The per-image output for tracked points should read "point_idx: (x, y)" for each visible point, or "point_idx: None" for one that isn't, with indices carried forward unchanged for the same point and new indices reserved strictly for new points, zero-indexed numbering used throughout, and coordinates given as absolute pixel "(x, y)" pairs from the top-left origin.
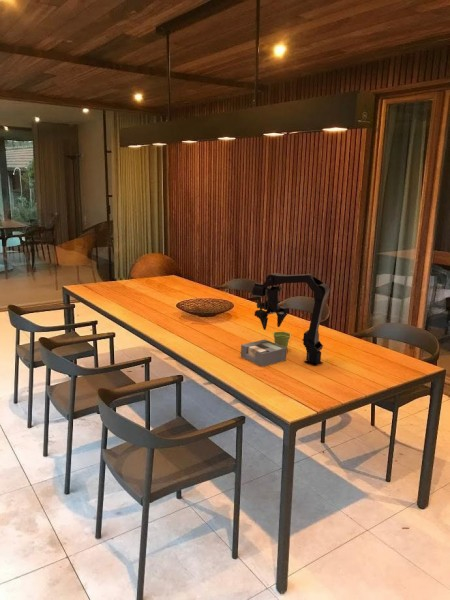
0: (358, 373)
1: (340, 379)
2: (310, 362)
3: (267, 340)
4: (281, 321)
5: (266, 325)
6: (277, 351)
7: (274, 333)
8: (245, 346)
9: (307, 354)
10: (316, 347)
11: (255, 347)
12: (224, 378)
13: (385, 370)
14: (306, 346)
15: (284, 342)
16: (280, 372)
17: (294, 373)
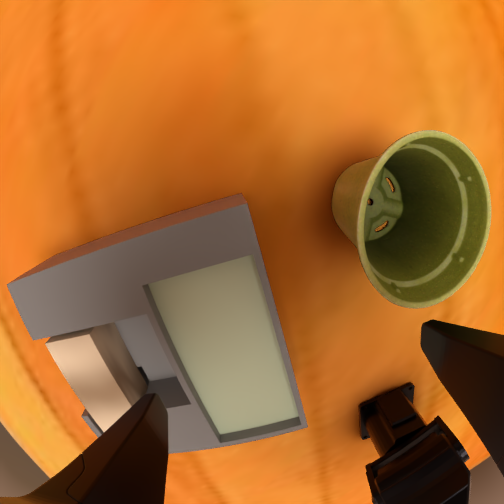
0: None
1: (348, 498)
2: (365, 428)
3: (254, 244)
4: (478, 417)
5: (162, 485)
6: (224, 440)
7: (395, 150)
8: (28, 328)
9: (385, 425)
10: (439, 431)
11: (87, 372)
12: (4, 418)
13: (478, 442)
14: (371, 487)
15: (394, 271)
16: (192, 461)
17: (242, 474)
